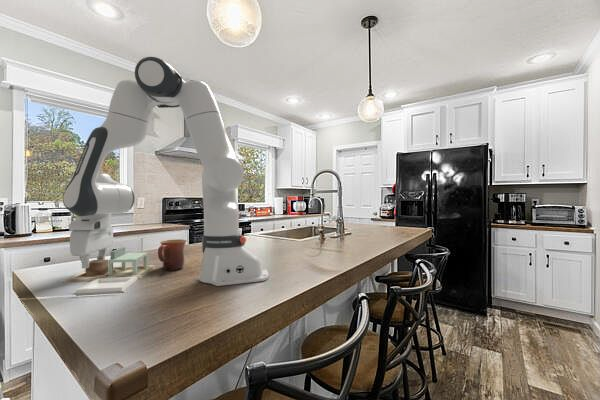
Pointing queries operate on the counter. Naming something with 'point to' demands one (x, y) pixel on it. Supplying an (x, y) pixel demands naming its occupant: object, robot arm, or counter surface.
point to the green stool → (126, 260)
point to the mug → (172, 254)
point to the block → (97, 268)
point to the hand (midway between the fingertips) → (93, 264)
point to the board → (116, 273)
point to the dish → (106, 285)
